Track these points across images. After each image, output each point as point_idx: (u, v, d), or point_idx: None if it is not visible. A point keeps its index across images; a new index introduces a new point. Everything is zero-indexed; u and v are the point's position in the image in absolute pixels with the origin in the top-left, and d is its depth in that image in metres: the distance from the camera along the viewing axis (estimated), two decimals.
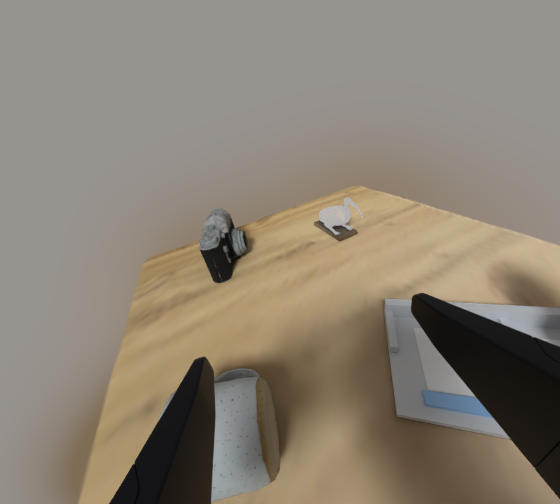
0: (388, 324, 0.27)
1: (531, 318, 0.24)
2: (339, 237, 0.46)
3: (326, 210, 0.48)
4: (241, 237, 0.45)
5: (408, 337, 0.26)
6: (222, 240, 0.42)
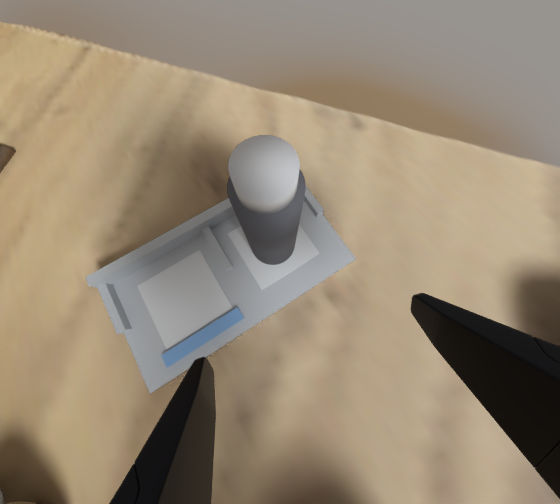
0: (106, 306, 0.22)
1: (222, 215, 0.24)
2: None
3: None
4: None
5: (136, 301, 0.23)
6: None
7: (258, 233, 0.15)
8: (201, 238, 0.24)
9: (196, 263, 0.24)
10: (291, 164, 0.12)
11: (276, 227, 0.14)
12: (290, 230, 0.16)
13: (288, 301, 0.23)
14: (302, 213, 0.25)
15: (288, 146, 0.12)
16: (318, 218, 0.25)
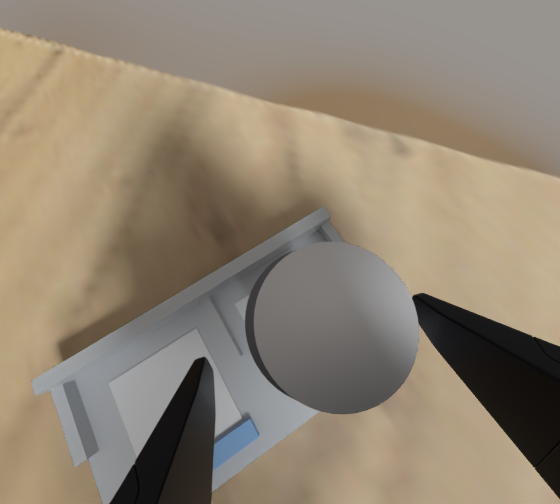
0: (62, 420, 0.15)
1: (228, 281, 0.17)
2: None
3: None
4: None
5: (107, 407, 0.16)
6: None
7: None
8: (198, 310, 0.18)
9: (191, 348, 0.17)
10: (399, 319, 0.05)
11: None
12: None
13: None
14: None
15: (386, 270, 0.05)
16: None
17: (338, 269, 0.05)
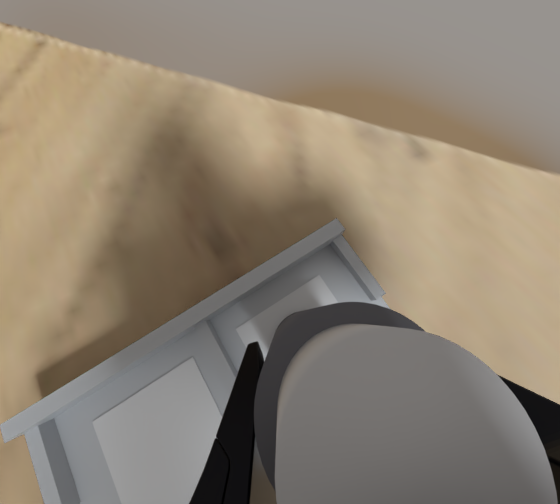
0: (37, 469, 0.13)
1: (228, 304, 0.15)
2: None
3: None
4: None
5: (90, 450, 0.14)
6: None
7: None
8: (195, 335, 0.16)
9: (187, 381, 0.15)
10: (520, 474, 0.03)
11: None
12: None
13: None
14: (349, 294, 0.17)
15: (490, 380, 0.03)
16: (373, 303, 0.16)
17: (410, 377, 0.03)
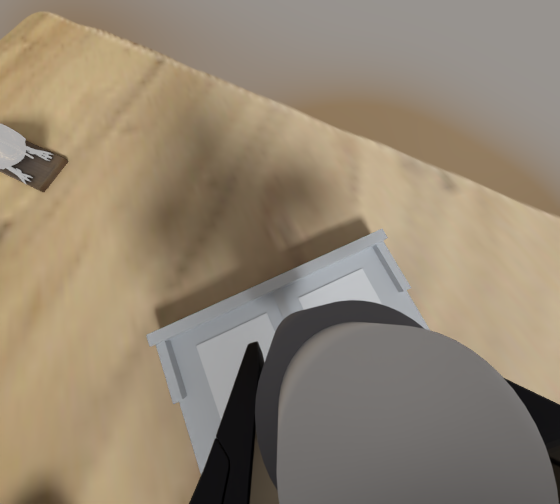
0: (164, 368, 0.20)
1: (298, 279, 0.21)
2: (36, 186, 0.25)
3: None
4: None
5: (194, 364, 0.21)
6: None
7: None
8: (268, 298, 0.22)
9: (262, 328, 0.21)
10: (521, 470, 0.03)
11: None
12: None
13: None
14: (382, 285, 0.22)
15: (491, 377, 0.03)
16: (400, 294, 0.22)
17: (411, 374, 0.03)
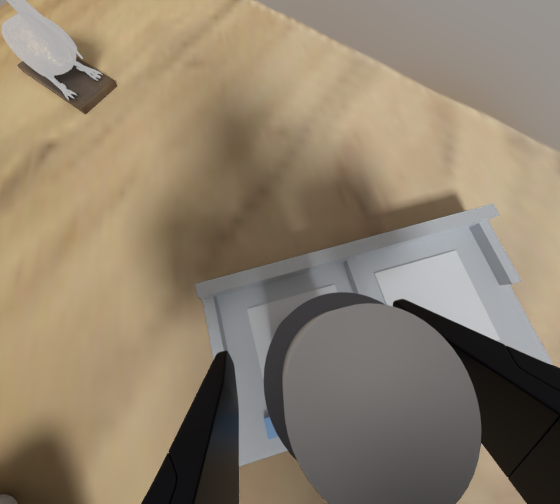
0: (209, 328, 0.16)
1: (380, 249, 0.17)
2: (79, 105, 0.23)
3: (4, 31, 0.20)
4: None
5: (242, 330, 0.17)
6: None
7: None
8: (338, 268, 0.18)
9: None
10: (456, 402, 0.04)
11: None
12: None
13: None
14: (480, 274, 0.18)
15: (436, 339, 0.05)
16: (501, 288, 0.18)
17: (380, 338, 0.05)
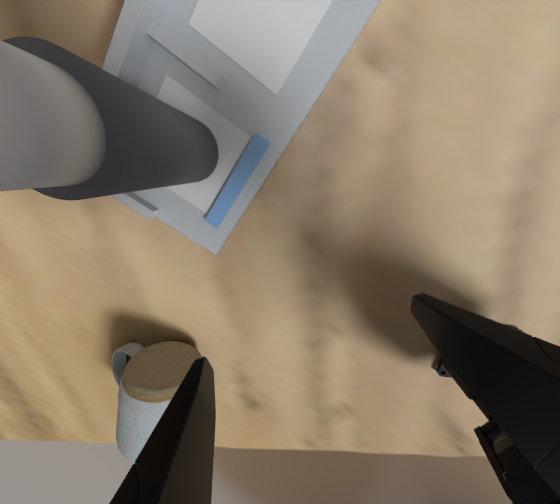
0: (116, 197, 0.18)
1: None
2: None
3: None
4: None
5: None
6: None
7: (133, 189, 0.10)
8: (157, 53, 0.16)
9: (175, 97, 0.17)
10: None
11: (134, 170, 0.09)
12: (163, 147, 0.10)
13: (317, 95, 0.16)
14: None
15: None
16: None
17: None
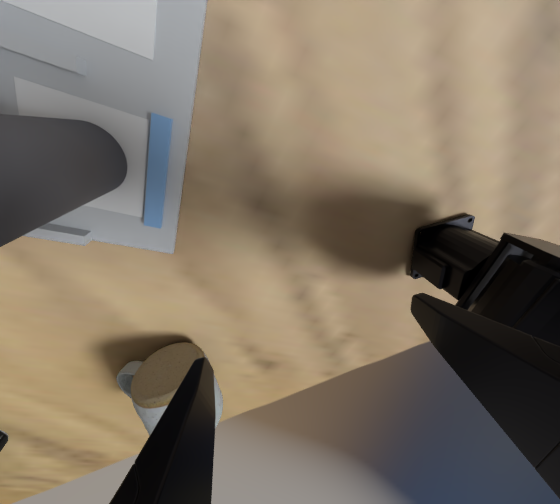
0: (36, 236, 0.17)
1: None
2: None
3: None
4: None
5: None
6: None
7: (27, 228, 0.09)
8: None
9: (40, 102, 0.14)
10: None
11: (9, 210, 0.08)
12: (35, 170, 0.09)
13: (197, 45, 0.14)
14: None
15: None
16: None
17: None
